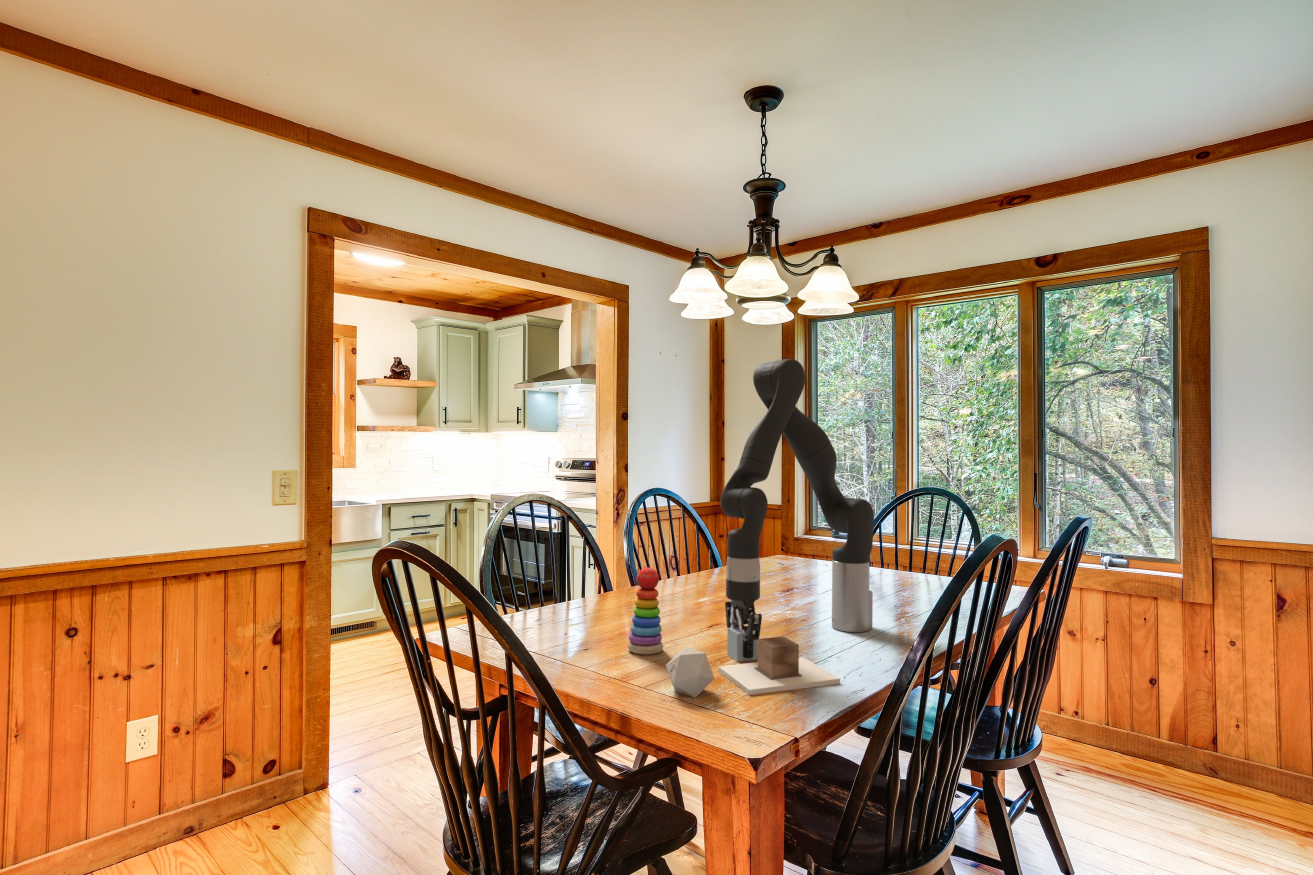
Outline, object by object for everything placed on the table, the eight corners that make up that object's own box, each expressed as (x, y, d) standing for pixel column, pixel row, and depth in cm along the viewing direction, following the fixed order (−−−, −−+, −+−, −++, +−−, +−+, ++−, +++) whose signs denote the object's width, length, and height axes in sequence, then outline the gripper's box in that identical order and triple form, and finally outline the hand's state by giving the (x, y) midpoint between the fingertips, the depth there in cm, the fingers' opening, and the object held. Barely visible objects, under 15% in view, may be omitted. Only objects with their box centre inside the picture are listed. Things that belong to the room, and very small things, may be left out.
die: (673, 684, 137) (654, 652, 133) (711, 662, 138) (693, 630, 133) (686, 714, 130) (666, 681, 125) (726, 691, 130) (707, 657, 126)
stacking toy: (650, 658, 151) (651, 572, 151) (621, 651, 156) (621, 568, 156) (669, 648, 158) (670, 567, 158) (640, 643, 162) (641, 563, 162)
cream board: (802, 661, 150) (802, 656, 150) (840, 683, 137) (840, 677, 137) (718, 671, 143) (718, 665, 143) (749, 695, 130) (749, 688, 130)
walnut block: (783, 665, 144) (783, 636, 144) (798, 674, 138) (798, 644, 138) (757, 668, 142) (757, 638, 142) (771, 677, 136) (772, 647, 136)
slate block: (747, 652, 156) (747, 626, 156) (757, 659, 151) (758, 632, 151) (727, 654, 154) (727, 627, 154) (736, 661, 150) (737, 633, 150)
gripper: (773, 582, 147) (773, 662, 147) (743, 570, 161) (743, 643, 161) (742, 584, 145) (741, 665, 145) (714, 571, 158) (713, 646, 158)
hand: (742, 653), depth 153 cm, fingers closed on slate block, 5 cm apart
